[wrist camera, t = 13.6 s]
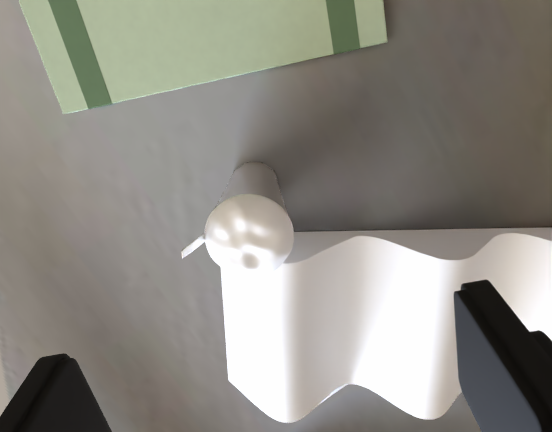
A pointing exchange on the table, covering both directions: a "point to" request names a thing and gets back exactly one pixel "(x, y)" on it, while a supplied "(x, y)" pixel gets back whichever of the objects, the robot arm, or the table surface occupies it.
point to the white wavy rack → (374, 314)
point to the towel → (185, 41)
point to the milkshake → (248, 224)
